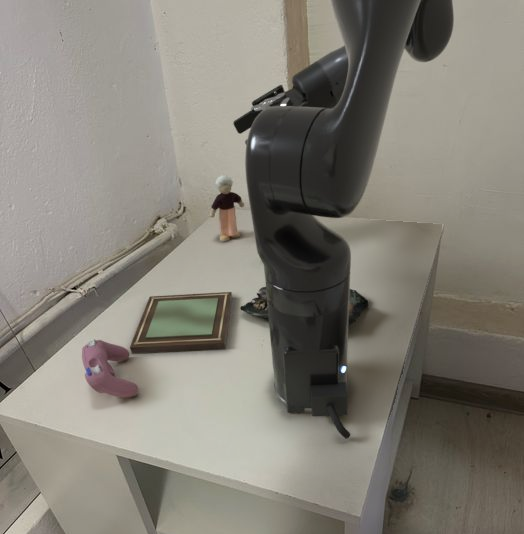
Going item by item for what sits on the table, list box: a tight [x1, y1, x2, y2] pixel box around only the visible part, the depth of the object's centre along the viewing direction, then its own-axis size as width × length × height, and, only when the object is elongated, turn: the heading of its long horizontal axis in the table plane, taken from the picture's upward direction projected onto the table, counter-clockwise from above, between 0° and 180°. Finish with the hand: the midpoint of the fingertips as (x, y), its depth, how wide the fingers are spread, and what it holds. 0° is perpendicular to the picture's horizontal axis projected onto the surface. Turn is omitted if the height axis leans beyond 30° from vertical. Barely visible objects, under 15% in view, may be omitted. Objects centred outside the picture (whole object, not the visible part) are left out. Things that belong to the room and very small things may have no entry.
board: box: [129, 291, 233, 355], centre depth 76 cm, size 14×14×1 cm
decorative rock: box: [239, 286, 369, 325], centre depth 75 cm, size 19×6×15 cm
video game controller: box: [81, 338, 140, 398], centre depth 65 cm, size 10×5×7 cm, turn 21°
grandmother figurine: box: [209, 174, 245, 243], centre depth 97 cm, size 8×4×13 cm, turn 132°
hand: (241, 137), depth 80 cm, fingers open, 8 cm apart
